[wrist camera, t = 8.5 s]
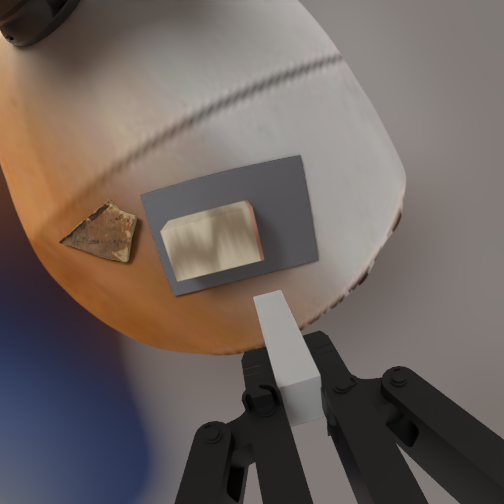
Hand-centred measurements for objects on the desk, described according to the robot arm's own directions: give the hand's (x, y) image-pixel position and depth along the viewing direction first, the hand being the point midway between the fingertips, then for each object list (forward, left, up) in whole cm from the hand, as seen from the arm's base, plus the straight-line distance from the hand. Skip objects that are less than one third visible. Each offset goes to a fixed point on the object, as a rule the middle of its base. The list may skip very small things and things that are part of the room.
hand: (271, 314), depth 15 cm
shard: (-3, -18, -22) cm, 28 cm away
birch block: (0, +2, -18) cm, 18 cm away
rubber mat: (0, -1, -21) cm, 21 cm away
